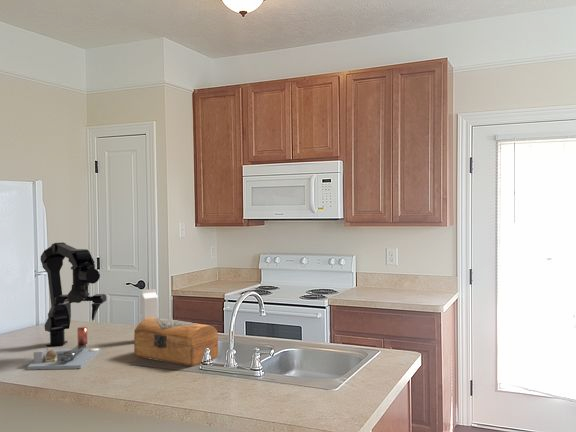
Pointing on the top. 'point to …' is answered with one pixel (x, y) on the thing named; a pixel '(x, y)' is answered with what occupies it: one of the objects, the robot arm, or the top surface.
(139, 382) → the top surface
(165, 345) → the wooden box
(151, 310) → the milk
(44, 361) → the blue-grey rectangular board
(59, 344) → the robot arm
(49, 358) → the nut
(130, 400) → the top surface
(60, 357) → the lever
